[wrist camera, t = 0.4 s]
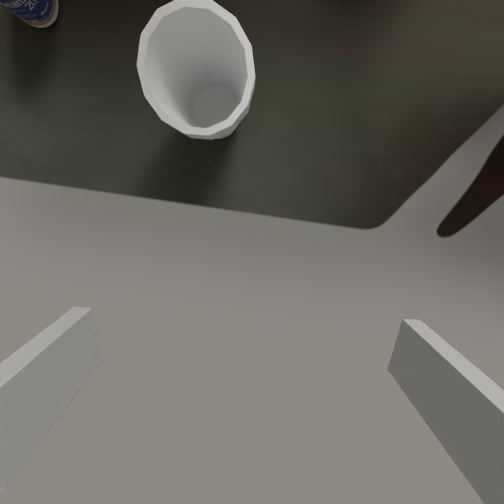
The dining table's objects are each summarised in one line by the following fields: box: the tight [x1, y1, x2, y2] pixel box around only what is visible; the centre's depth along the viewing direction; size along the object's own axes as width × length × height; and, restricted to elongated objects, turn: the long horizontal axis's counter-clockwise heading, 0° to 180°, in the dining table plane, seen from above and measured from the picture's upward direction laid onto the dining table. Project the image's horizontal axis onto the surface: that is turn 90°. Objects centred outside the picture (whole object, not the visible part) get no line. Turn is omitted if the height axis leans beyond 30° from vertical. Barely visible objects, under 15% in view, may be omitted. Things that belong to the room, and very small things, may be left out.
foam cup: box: [137, 0, 255, 140], centre depth 25 cm, size 10×9×13 cm
